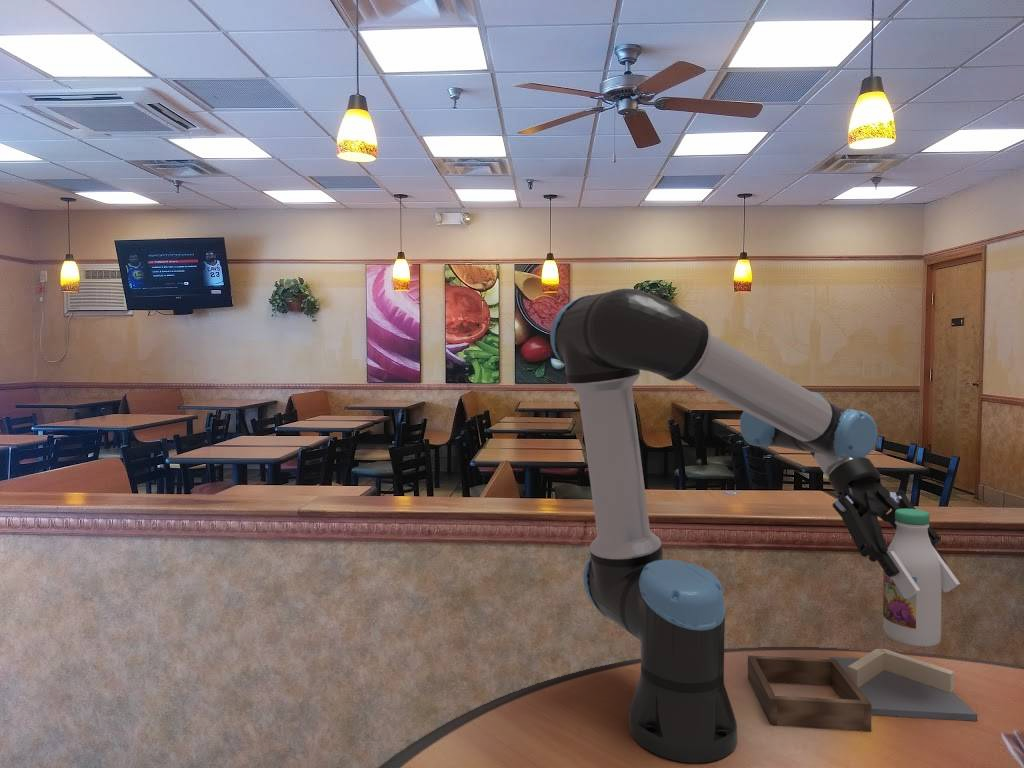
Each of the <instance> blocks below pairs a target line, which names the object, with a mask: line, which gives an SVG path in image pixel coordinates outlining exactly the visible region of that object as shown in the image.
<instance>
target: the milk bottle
mask: <svg viewBox="0 0 1024 768" xmlns="http://www.w3.org/2000/svg"><path fill="white" fill-rule="evenodd" d="M930 519H931V518H930V513H929V512H928V511H925V510H922V509H917V508H916V509H897V510H896V511H895V524H896V525H897V529H896V528H895V529H896V530H895V533H894V535H893V538H892V540H891V542H890V543H889V546H887V549H888V551H887V553H889V552H890V551H894V552H895V554H896V555H897V556H898V558H899V559H900V561H901V562H902V564H903V565H904V567H905V568H906V570H907V571H908V573H909V574H910V576H911V577H912V579H913V580H914V581H915V583H916V584H917V586H918V587H919V589H920V591H919V592H917V593H916V594H914V595H913V596H912V597H910V598H908V599H905V598H904V597H903V595H902V594H901V592H900V591H899V589H898V587H897V586H896V584H895V583H894V581H893V580H892V578H891V577H889V576H888V575H887V574H886V573H885V571H884V570H883V578H882V579H883V583H882V584H883V585H882V587H883V589H882V591H883V593H882V594H883V595H882V599H883V601H882V602H883V604H882V610H883V611H882V624H883V625H882V627H883V629H882V630H883V632H884V634H885V635H886V636H887V638H890V639H892V640H893V641H896V642H899V643H901V644H905V645H909V646H915V647H933V646H936V645H939V643H941V639H942V638H941V637H942V588H941V569H940V563H939V559H938V556H937V554H936V552H935V550H934V548H933V546H932V544H931V541H930V539H929V535H928V527H929V525H930Z"/></svg>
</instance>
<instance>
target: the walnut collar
mask: <svg viewBox="0 0 1024 768" xmlns="http://www.w3.org/2000/svg"><path fill="white" fill-rule="evenodd" d="M747 681H748V683H749V684H750V686H751V688H752V691H753V693H754V695H755V697H756V699H757V702H758V703H759V706H760V708H761V709H762V712H763V714H764V716H765V718H766V720H767V722H768V724H769V726H776V727H787V728H788V727H792V728H793V727H794V728H808V729H823V730H824V729H826V730H839V731H840V730H842V731H858V732H859V731H861V732H872V715H871V705H872V704H871V703H870V702H869V700H868V699H867V698H866V697H865V695H864V694H863V693H862V692H861V690H860V689H859V688H858V687H857V685H856V684H855V683H854V682H853V680H852V679H851V678H850V677H849V675H848V674H847V673H846V672H845V670H844V669H843V668H842V667H841V665H840V664H839V663H838V662H837V660H836V659H829V658H814V657H813V658H812V657H796V656H795V657H794V656H793V657H790V656H769V655H766V656H765V655H747ZM771 683H772V684H787V685H790V684H791V685H805V686H806V685H807V686H808V685H812V686H826V687H827V686H828V687H832V689H833V690H834V692H835V693H836V694H837V696H838V697H839V698H828V697H827V698H825V697H810V696H809V697H808V696H794V695H793V696H787V695H775V693H774V691H773V689H772V687H771V685H770V684H771Z"/></svg>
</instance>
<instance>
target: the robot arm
mask: <svg viewBox="0 0 1024 768" xmlns="http://www.w3.org/2000/svg"><path fill="white" fill-rule="evenodd" d="M549 337H550V339H549V340H550V345H551V349H552V351H553V353H554V355H555V357H556V358H557V359H558V360H559V362H561V363H562V364H564V367H565V368H564V369H565V376H566V377H565V378H566V384H567V385H568V386H569V387H570V388H571V389H573V390H574V391H575V392H576V393H577V395H578V403H579V409H580V415H581V422H582V423H581V424H582V432H583V438H584V446H585V453H586V460H587V468H588V469H587V470H588V476H589V484H590V491H591V497H592V498H591V499H592V506H593V512H594V520H595V529H596V534H597V535H596V537H595V538H594V540H592V542H591V543H590V545H589V553H590V555H589V557H588V558H589V559H588V561H587V562H586V563H585V564H584V565H585V566H584V570H583V577H582V580H583V586H584V591H585V594H586V595H587V598H588V599H589V601H590V603H592V604H593V605H594V607H595V608H596V609H597V610H598V612H600V613H601V615H603V616H605V617H607V618H608V620H610V621H613V622H614V623H615V624H617V625H618V626H620V627H621V628H622V629H623V630H625V631H626V632H628V633H629V634H631V635H632V636H633V637H635V638H636V639H638V640H639V642H640V676H639V679H638V682H637V685H636V688H635V691H634V694H633V697H632V700H631V702H630V706H629V709H628V710H629V711H628V725H629V726H628V728H629V732H630V735H631V736H632V738H633V739H634V740H635V742H637V743H638V744H639V745H640V746H641V747H642V748H644V749H646V750H647V751H648V750H649V752H650V751H651V752H650V753H652V752H653V754H654V753H655V754H654V755H657V756H659V757H662V758H664V759H668V760H671V761H675V762H676V761H677V762H681V763H682V762H683V763H696V764H697V763H699V764H700V763H701V764H702V763H708V762H715V761H717V760H720V759H723V758H724V757H727V756H728V755H730V754H731V753H732V752H733V751H734V750H735V748H736V746H737V743H738V725H737V719H736V715H735V713H734V711H733V710H734V709H733V706H732V704H731V700H730V698H729V695H728V692H727V689H726V686H725V685H726V684H725V627H726V626H725V623H726V622H725V621H726V618H725V617H726V604H725V599H724V598H725V597H724V589H723V586H722V583H721V582H720V579H719V578H718V577H717V576H716V575H715V574H714V573H713V572H712V571H710V570H708V569H707V568H705V567H703V566H701V565H699V564H696V563H693V562H689V563H686V562H685V561H684V560H679V559H664V554H663V553H664V552H663V547H662V541H661V538H660V537H659V536H658V535H656V534H655V533H654V532H652V531H651V529H650V528H651V527H650V520H649V512H648V511H649V510H648V505H647V504H648V503H647V495H646V488H645V480H644V472H643V466H642V464H643V463H642V456H641V448H640V441H639V434H638V433H639V432H638V425H637V418H636V409H635V402H634V394H633V385H634V384H635V382H636V381H637V380H638V378H639V377H640V376H641V371H644V372H646V371H647V372H650V373H653V374H656V375H658V376H661V377H663V378H665V379H667V380H668V381H670V382H671V381H672V382H679V381H682V380H684V381H686V382H687V383H689V384H691V385H693V386H695V387H697V388H699V389H701V390H703V391H705V392H707V393H708V394H711V395H712V396H714V397H716V398H718V399H721V401H724V402H726V403H727V404H730V406H733V407H735V408H737V409H739V410H741V411H742V414H741V416H740V420H739V421H740V422H739V424H740V425H739V428H740V433H741V436H742V437H743V439H744V441H745V442H746V443H747V444H749V445H751V446H753V447H763V448H768V447H774V448H783V449H790V450H795V451H802V452H807V453H808V452H809V453H810V454H811V455H810V456H812V458H813V459H814V460H815V462H816V463H817V464H818V466H819V468H820V470H821V471H822V472H823V475H824V476H826V477H827V478H828V482H829V483H830V485H831V486H832V488H833V489H834V492H836V494H837V496H839V497H838V498H837V499H836V500H835V501H834V502H833V503H832V508H833V509H834V510H835V511H836V512H837V514H838V515H839V516H840V517H841V520H842V521H843V523H844V525H845V527H846V529H847V530H848V533H849V535H850V537H851V538H852V540H853V543H854V545H855V547H856V548H857V550H858V552H859V554H860V555H861V556H862V557H864V558H867V557H868V560H869V561H871V562H872V563H874V562H878V564H879V566H880V567H881V568H882V570H883V572H884V571H885V573H886V574H887V575H888V576H889V577H891V578H892V580H893V581H894V583H895V584H896V586H897V587H898V589H899V591H900V592H901V594H902V595H903V597H904V598H905V599H908V598H910V597H912V596H913V595H914V594H916V593H917V592H919V591H920V589H919V587H918V586H917V584H916V583H915V581H914V580H913V579H912V577H911V576H910V574H909V573H908V571H907V570H906V568H905V567H904V565H903V564H902V562H901V561H900V559H899V558H898V556H897V555H896V554H895V552H894V551H890V552H889V553H887V551H888V546H887V543H886V540H885V538H884V537H885V536H884V534H883V531H882V527H881V523H880V521H879V519H878V518H880V519H881V520H882V521H883V522H887V523H889V524H890V525H891V526H892V527H893V528H894V529H897V525H896V524H895V511H896V510H897V509H917V508H916V507H915V505H913V503H912V502H911V501H910V500H909V499H908V496H907V494H906V492H905V491H904V490H902V489H898V490H897V491H896V492H893V491H892V492H891V491H889V490H888V489H887V488H886V487H885V486H884V485H882V482H881V473H880V472H879V470H878V469H877V467H875V465H874V464H873V462H872V461H871V460H870V458H868V456H867V455H869V454H870V453H871V452H872V451H873V450H874V448H875V445H876V441H877V439H878V427H877V426H878V425H877V424H876V422H875V419H874V418H873V416H871V415H870V414H869V413H867V412H866V411H862V410H856V409H854V408H847V409H845V408H841V407H839V406H838V405H836V404H833V403H832V402H830V401H828V400H827V399H825V397H824V396H823V395H822V394H821V393H818V392H815V391H811V390H808V389H807V388H805V387H803V386H802V385H800V384H798V383H796V382H795V381H794V380H792V379H790V378H788V377H786V376H785V375H782V374H781V373H779V372H778V371H776V370H775V369H772V368H770V367H769V366H767V365H765V364H763V363H762V362H760V361H758V360H756V359H755V358H753V357H752V356H749V355H748V354H746V353H745V352H743V351H740V350H739V349H737V348H735V347H734V346H732V345H730V344H729V343H727V342H725V341H723V340H721V339H720V338H718V337H716V336H715V335H713V334H711V330H710V327H709V325H708V324H707V323H706V322H705V321H703V320H701V319H700V318H698V317H697V316H695V315H693V314H691V313H690V312H687V311H686V310H684V309H682V308H680V307H679V306H677V305H675V304H673V303H671V302H669V301H667V300H665V299H663V298H662V297H661V298H660V297H659V296H656V295H654V294H652V293H649V292H646V291H644V290H639V289H634V288H618V289H615V290H614V289H613V290H611V291H607V292H601V293H596V294H588V295H587V294H586V295H584V296H580V297H579V298H577V299H574V300H572V301H570V302H568V303H566V304H565V305H564V306H563V307H561V309H560V310H559V311H558V312H557V314H556V315H555V317H554V319H553V321H552V324H551V327H550V336H549ZM889 511H890V512H889ZM928 535H929V539H930V541H931V544H932V546H933V548H934V550H935V552H936V554H937V556H938V559H939V563H940V569H941V591H942V592H944V593H948V592H951V591H952V590H953V589H954V588H956V587H958V586H959V585H961V582H959V580H958V578H957V577H956V576H955V574H954V573H953V572H952V570H951V569H950V568H949V566H948V563H947V561H946V559H944V557H943V555H942V554H941V553H940V551H939V550H938V549H937V547H936V545H937V544H938V543H939V542H940V541H941V540H942V537H941V536H940V535H939V534H938V532H937V531H936V530H935V529H934V528H933V527H932V526H931V524H929V527H928Z"/></svg>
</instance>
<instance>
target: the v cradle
mask: <svg viewBox="0 0 1024 768" xmlns="http://www.w3.org/2000/svg"><path fill="white" fill-rule="evenodd" d="M828 659H836V660H837V662H838V663H839V664H840V665H841V667H842V668H843V669H844V670H845V672H846V673H847V674H848V675H849V677H850V678H851V679H852V680H853V682H854V683H855V684H856V685H857V687H858V688H859V689H860V690H861V692H862V693H863V694H864V695H865V697H866V698H867V699H868V700H869V702H870V703H871V704H872V705H871V716H879V715H889V716H888V717H896V716H898V717H899V718H913V719H916V718H918V719H921V718H922V719H935V720H954V721H972V722H973V721H974V722H977V721H978V713H976V712H975V710H973V709H972V708H971V707H970V706H969V705H968V704H967V703H966V702H965V701H964V700H962V698H960V697H959V696H958V695H957V694H956V693H955V692H954V691H955V671H954V670H951V669H947V668H945V667H941V666H939V665H936V664H932V663H930V662H926V661H923V660H920V659H917V658H914V657H911V656H908V655H906V654H905V655H904V654H902V653H898V652H895V651H892V650H889V649H886V648H882V649H881V648H878V647H877V648H876V649H873V650H872V651H870V652H868V653H867V654H865V655H863V656H862V657H859V658H858V657H839V656H837V657H835V656H828ZM890 715H891V716H890Z"/></svg>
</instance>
